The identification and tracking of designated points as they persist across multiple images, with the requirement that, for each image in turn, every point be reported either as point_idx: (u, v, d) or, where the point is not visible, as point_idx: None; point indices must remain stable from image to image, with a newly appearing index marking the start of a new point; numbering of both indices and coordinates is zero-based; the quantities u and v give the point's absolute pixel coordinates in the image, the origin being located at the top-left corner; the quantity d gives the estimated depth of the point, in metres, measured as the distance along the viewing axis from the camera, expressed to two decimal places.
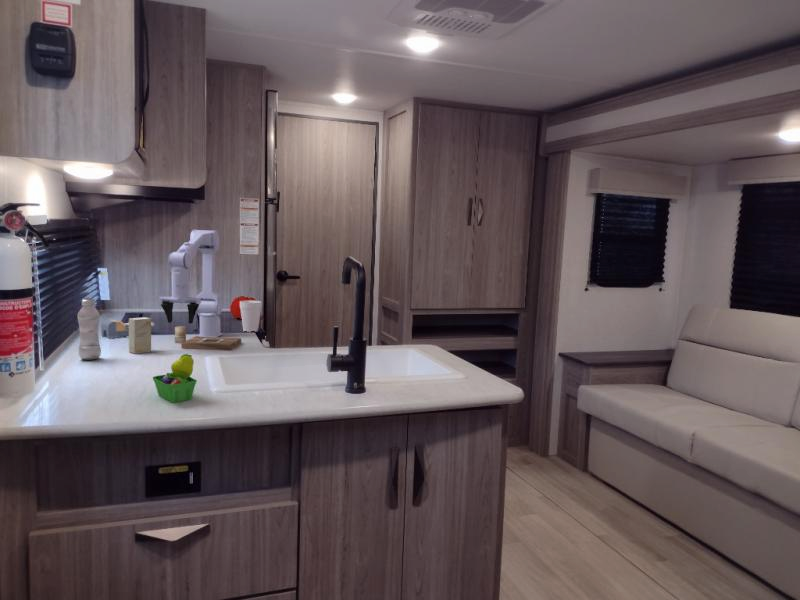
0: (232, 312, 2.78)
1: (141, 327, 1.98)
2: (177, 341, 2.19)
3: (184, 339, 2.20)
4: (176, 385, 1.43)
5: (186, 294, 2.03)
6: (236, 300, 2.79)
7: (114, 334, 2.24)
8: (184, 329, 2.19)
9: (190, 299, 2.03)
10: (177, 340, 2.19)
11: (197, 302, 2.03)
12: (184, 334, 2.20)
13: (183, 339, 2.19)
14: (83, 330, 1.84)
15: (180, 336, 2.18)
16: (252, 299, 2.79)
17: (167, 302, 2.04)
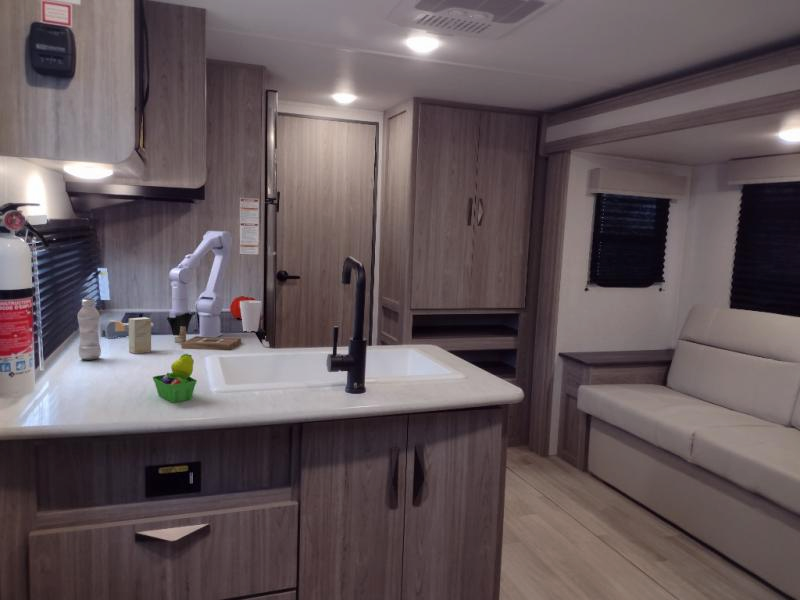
0: (232, 312, 2.78)
1: (141, 327, 1.98)
2: (177, 341, 2.19)
3: (184, 339, 2.20)
4: (176, 385, 1.43)
5: (174, 307, 2.16)
6: (236, 300, 2.79)
7: (113, 334, 2.24)
8: (184, 329, 2.19)
9: (171, 312, 2.15)
10: (177, 340, 2.19)
11: None
12: (184, 334, 2.20)
13: (183, 339, 2.19)
14: (83, 330, 1.84)
15: (180, 336, 2.18)
16: (252, 299, 2.79)
17: None
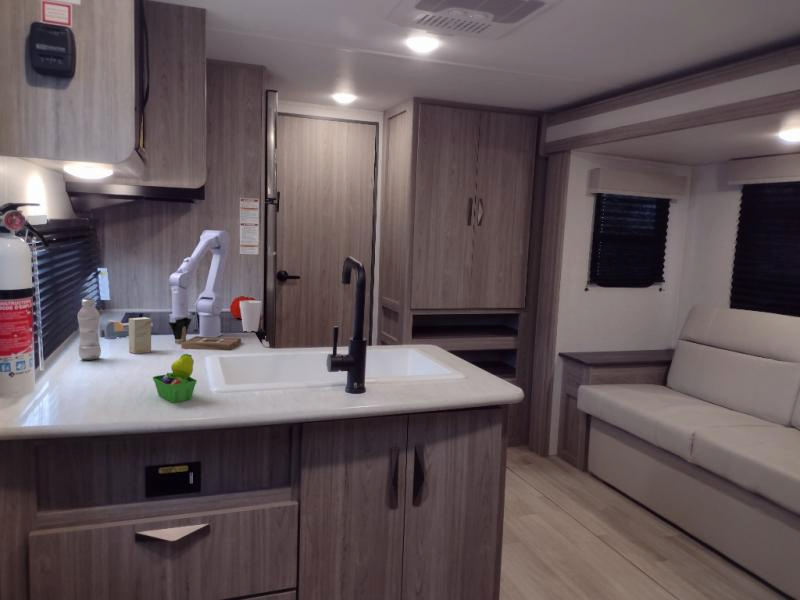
0: (232, 312, 2.78)
1: (141, 327, 1.98)
2: (177, 341, 2.19)
3: (184, 339, 2.20)
4: (176, 385, 1.43)
5: (174, 312, 2.17)
6: (236, 300, 2.79)
7: (112, 334, 2.23)
8: (184, 329, 2.19)
9: (171, 317, 2.15)
10: (177, 340, 2.19)
11: None
12: (184, 334, 2.20)
13: (183, 339, 2.19)
14: (83, 330, 1.84)
15: None
16: (252, 299, 2.79)
17: None
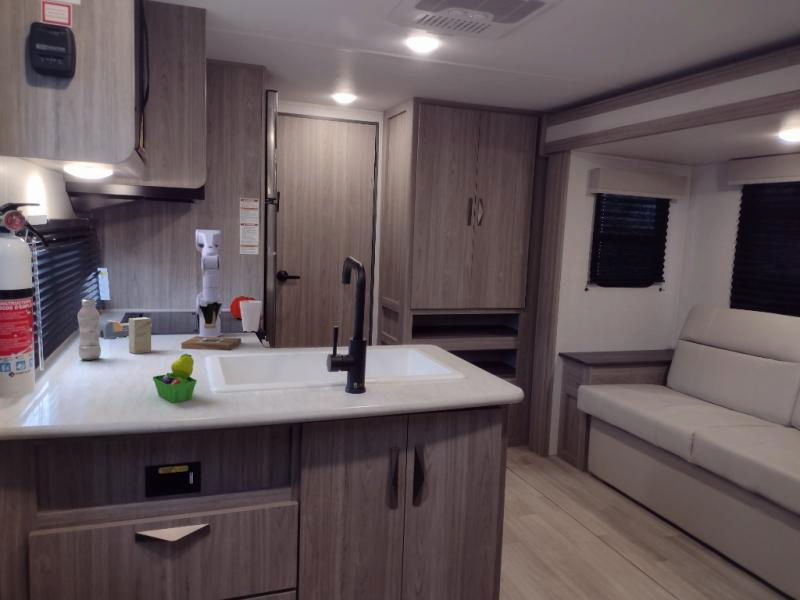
0: (232, 312, 2.78)
1: (141, 327, 1.98)
2: (207, 326, 2.12)
3: (213, 324, 2.13)
4: (176, 385, 1.43)
5: (205, 296, 2.10)
6: (236, 300, 2.79)
7: (111, 334, 2.23)
8: (213, 314, 2.13)
9: (202, 300, 2.09)
10: (206, 325, 2.12)
11: None
12: (213, 319, 2.13)
13: (212, 325, 2.13)
14: (83, 330, 1.84)
15: None
16: (252, 299, 2.79)
17: None
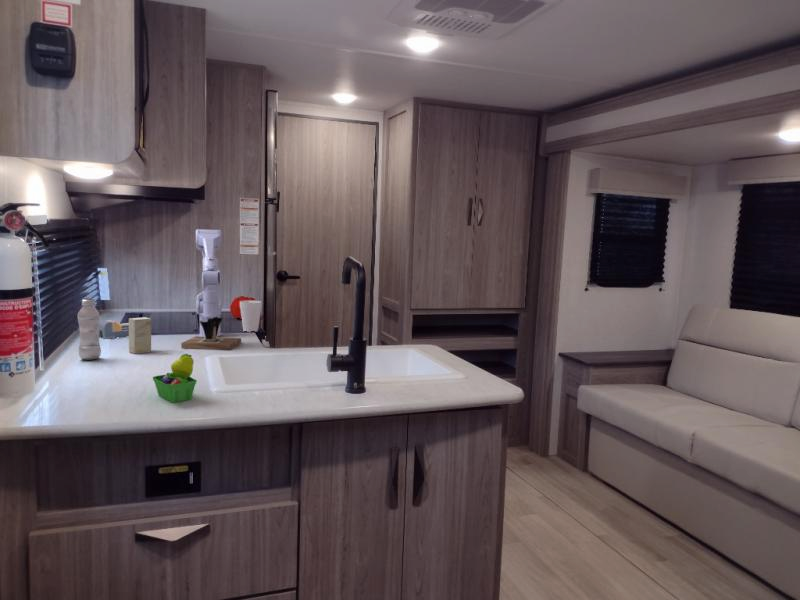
0: (232, 312, 2.78)
1: (141, 327, 1.98)
2: (207, 341, 2.13)
3: (214, 339, 2.14)
4: (176, 385, 1.43)
5: (206, 311, 2.11)
6: (236, 300, 2.79)
7: (110, 335, 2.23)
8: (214, 329, 2.14)
9: (202, 316, 2.10)
10: (207, 340, 2.13)
11: None
12: (214, 334, 2.14)
13: (213, 340, 2.14)
14: (83, 330, 1.84)
15: None
16: (252, 299, 2.79)
17: None
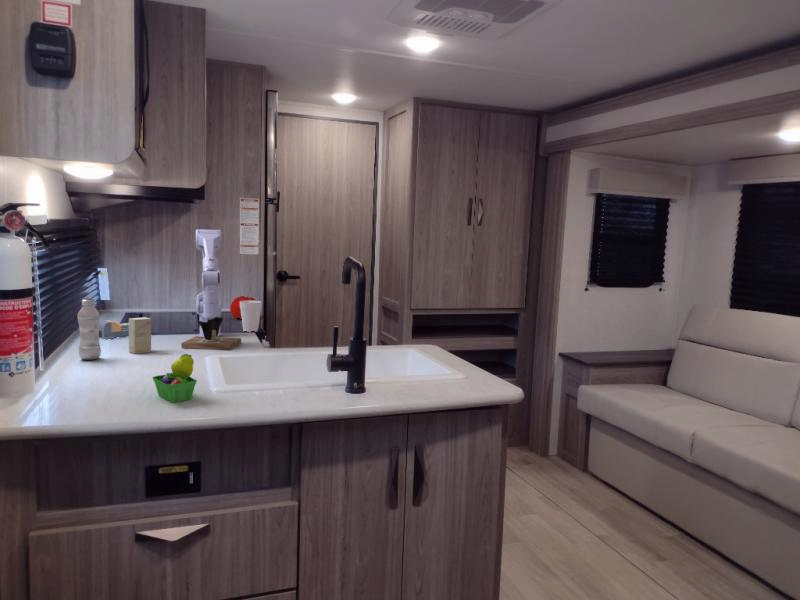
0: (232, 312, 2.78)
1: (141, 327, 1.98)
2: None
3: None
4: (176, 385, 1.43)
5: (206, 311, 2.11)
6: (236, 300, 2.79)
7: (110, 335, 2.22)
8: (214, 333, 2.14)
9: (202, 316, 2.10)
10: None
11: None
12: (214, 338, 2.14)
13: None
14: (83, 330, 1.84)
15: (210, 340, 2.13)
16: (252, 299, 2.79)
17: None
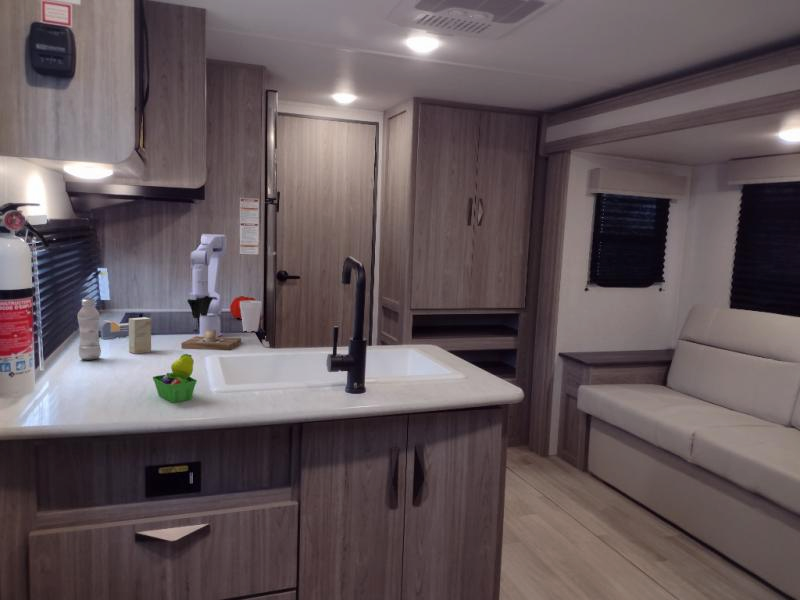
0: (232, 312, 2.78)
1: (141, 327, 1.98)
2: None
3: None
4: (176, 385, 1.43)
5: (195, 290, 2.15)
6: (236, 300, 2.79)
7: (108, 335, 2.22)
8: (214, 333, 2.14)
9: (191, 294, 2.14)
10: None
11: None
12: (214, 338, 2.14)
13: None
14: (83, 330, 1.84)
15: (210, 340, 2.13)
16: (252, 299, 2.79)
17: None
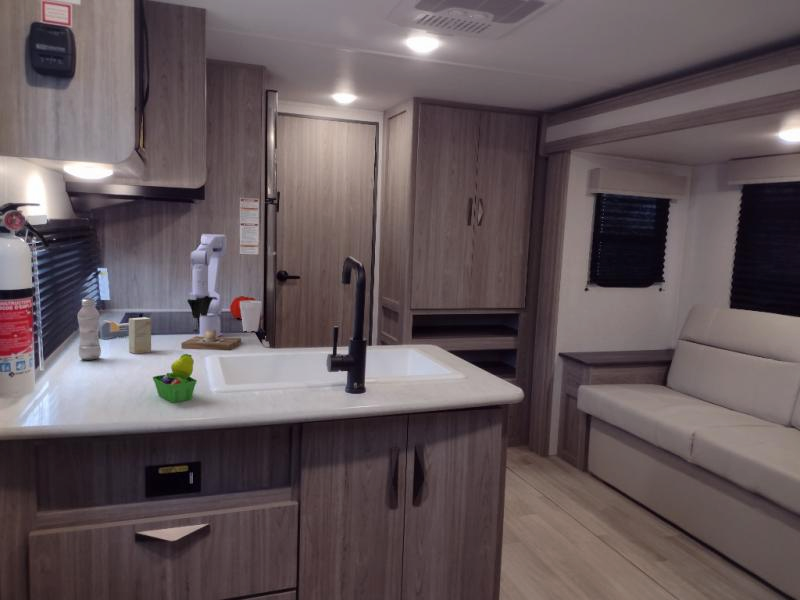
0: (232, 312, 2.78)
1: (141, 327, 1.98)
2: None
3: None
4: (176, 385, 1.43)
5: (195, 290, 2.15)
6: (236, 300, 2.79)
7: (108, 335, 2.22)
8: (214, 333, 2.14)
9: (191, 294, 2.14)
10: None
11: None
12: (214, 338, 2.14)
13: None
14: (83, 330, 1.84)
15: (210, 340, 2.13)
16: (252, 299, 2.79)
17: None
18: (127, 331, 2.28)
